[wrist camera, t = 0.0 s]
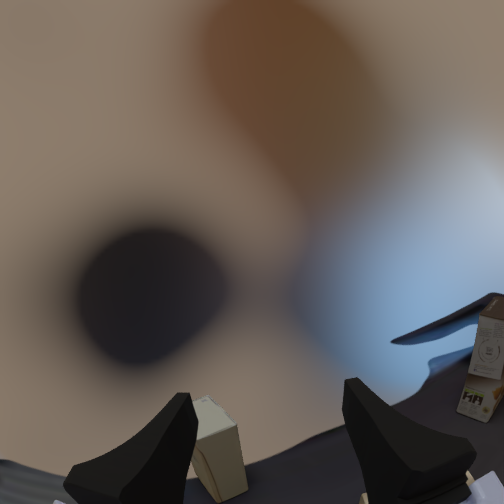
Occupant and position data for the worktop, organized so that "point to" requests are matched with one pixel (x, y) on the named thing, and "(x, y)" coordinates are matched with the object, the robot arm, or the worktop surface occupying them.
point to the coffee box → (486, 365)
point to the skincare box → (218, 451)
